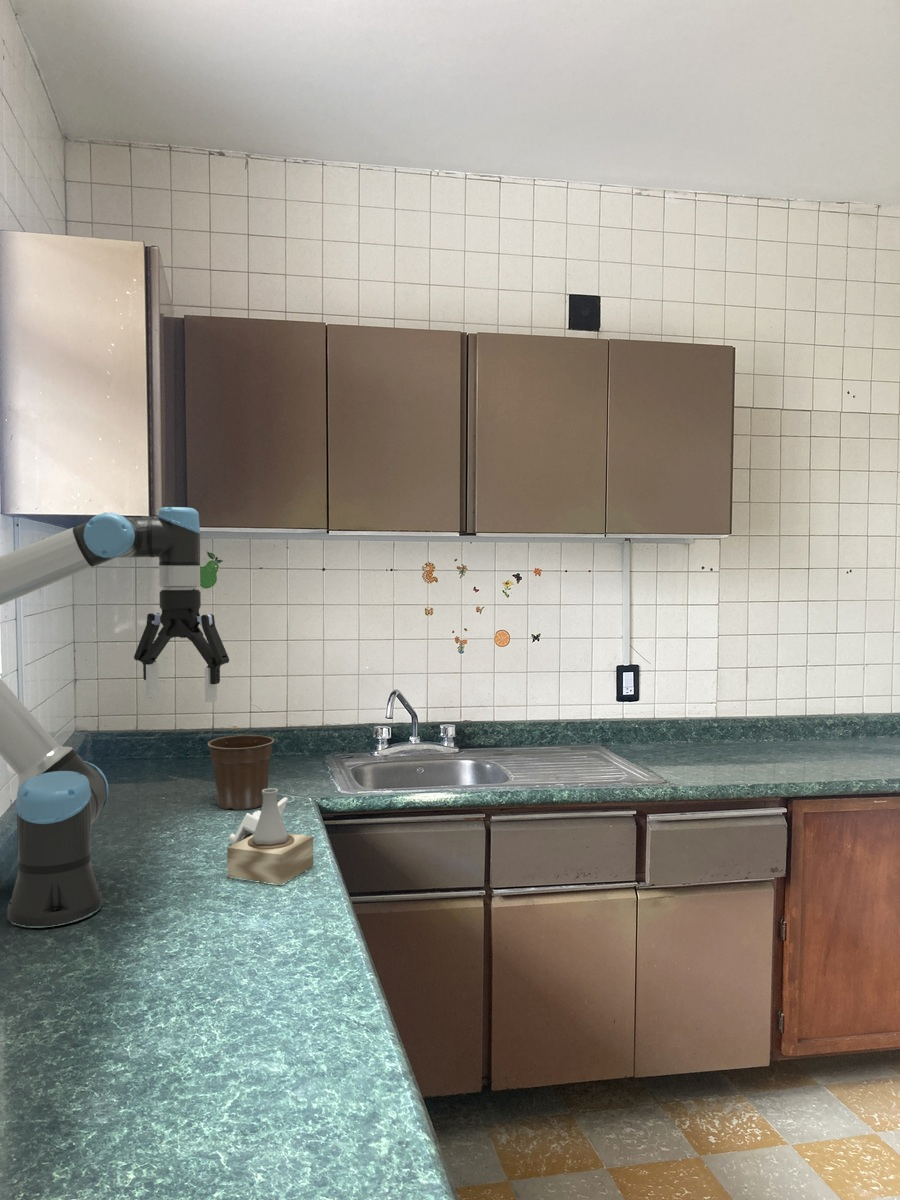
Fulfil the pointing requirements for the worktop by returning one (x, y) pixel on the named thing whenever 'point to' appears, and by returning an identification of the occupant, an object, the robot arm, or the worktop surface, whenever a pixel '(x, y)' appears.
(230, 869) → the wooden stand
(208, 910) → the worktop surface
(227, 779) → the plant pot
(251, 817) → the mounting bracket
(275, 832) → the flask
